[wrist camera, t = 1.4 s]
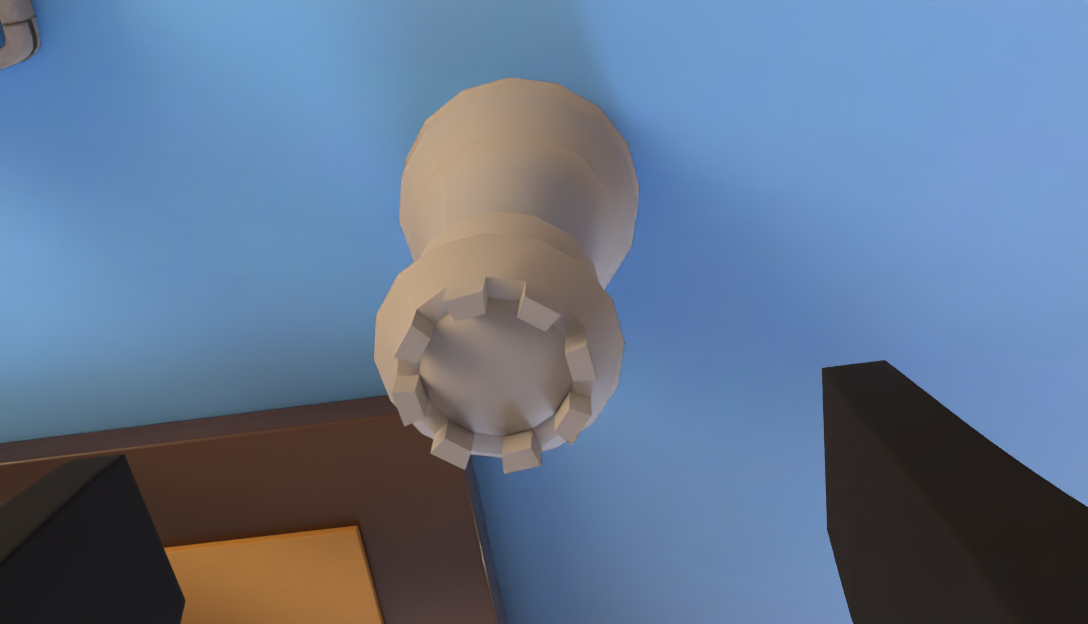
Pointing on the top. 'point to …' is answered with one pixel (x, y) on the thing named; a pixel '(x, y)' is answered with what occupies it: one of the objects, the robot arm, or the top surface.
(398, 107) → the top surface
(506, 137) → the rook chess piece
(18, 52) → the strap clip
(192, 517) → the board
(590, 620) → the top surface
